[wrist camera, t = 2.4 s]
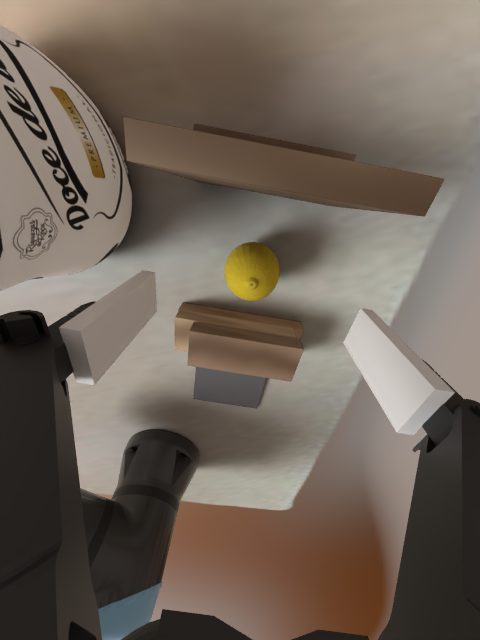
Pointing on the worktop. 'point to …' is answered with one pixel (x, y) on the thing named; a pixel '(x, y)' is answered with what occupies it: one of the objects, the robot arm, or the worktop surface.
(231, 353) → the wooden blocks
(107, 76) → the worktop surface
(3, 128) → the milk container
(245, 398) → the rubber mat
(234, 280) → the lemon
